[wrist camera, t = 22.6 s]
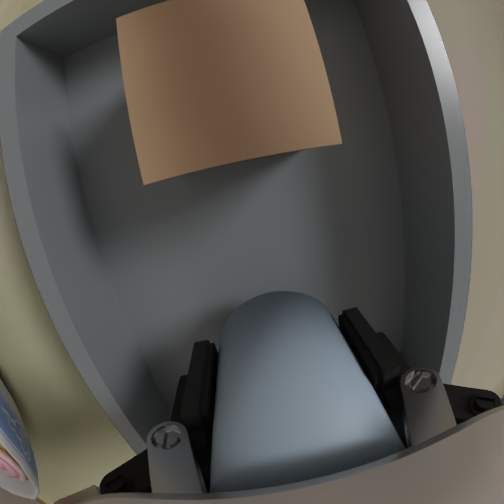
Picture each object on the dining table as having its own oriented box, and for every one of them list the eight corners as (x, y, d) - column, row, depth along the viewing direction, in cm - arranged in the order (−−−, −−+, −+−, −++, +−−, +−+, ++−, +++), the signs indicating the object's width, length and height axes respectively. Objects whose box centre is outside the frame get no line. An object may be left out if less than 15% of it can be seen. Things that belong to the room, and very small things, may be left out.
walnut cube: (275, 42, 10) (296, -19, 5) (300, 150, 12) (342, 143, 7) (158, 66, 10) (116, 18, 5) (180, 176, 12) (143, 185, 7)
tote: (406, 358, 16) (443, 408, 12) (165, 411, 17) (151, 471, 12) (356, -9, 10) (395, -56, 5) (56, 56, 10) (0, 31, 5)
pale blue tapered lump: (331, 277, 11) (424, 405, 4) (339, 372, 13) (391, 495, 6) (204, 305, 11) (177, 461, 5) (235, 395, 13) (237, 529, 6)
